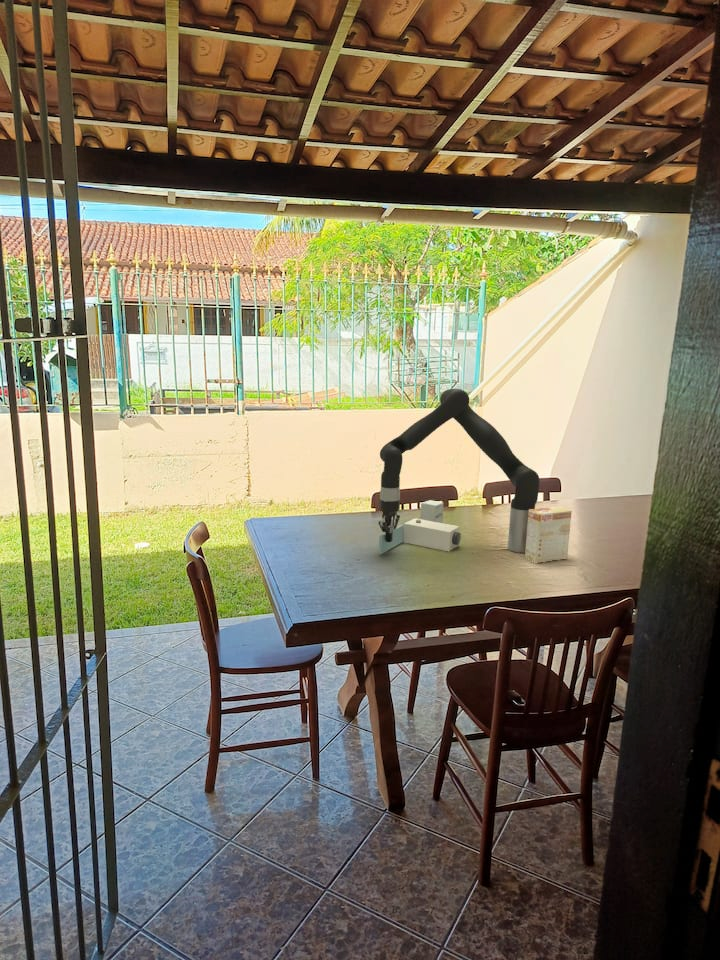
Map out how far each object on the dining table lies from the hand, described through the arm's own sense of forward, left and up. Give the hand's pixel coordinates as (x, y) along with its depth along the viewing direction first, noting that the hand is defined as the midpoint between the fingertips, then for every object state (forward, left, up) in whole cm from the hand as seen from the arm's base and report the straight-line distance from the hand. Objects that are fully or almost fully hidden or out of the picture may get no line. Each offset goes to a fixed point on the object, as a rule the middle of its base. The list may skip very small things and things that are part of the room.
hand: (388, 541), depth 239 cm
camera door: (+2, -6, -4) cm, 7 cm away
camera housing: (-8, -20, -5) cm, 23 cm away
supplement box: (0, -37, -5) cm, 37 cm away
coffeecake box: (-52, -30, -5) cm, 60 cm away
